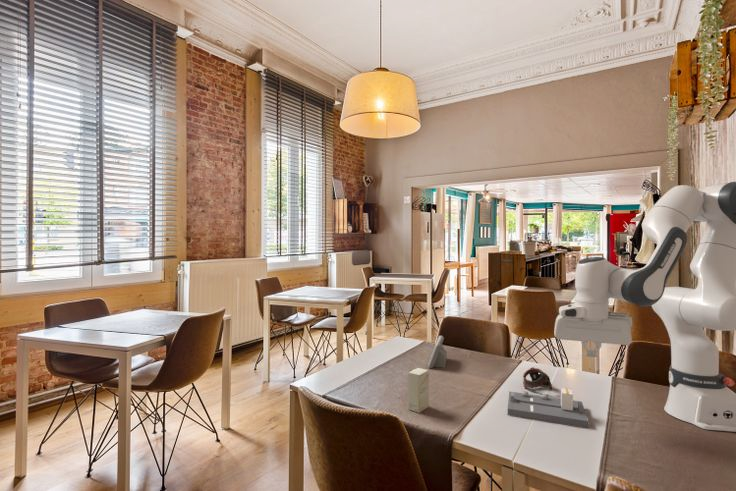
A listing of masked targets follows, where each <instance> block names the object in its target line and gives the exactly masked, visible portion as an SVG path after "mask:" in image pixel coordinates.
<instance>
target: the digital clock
mask: <svg viewBox="0 0 736 491" xmlns="http://www.w3.org/2000/svg"><path fill="white" fill-rule="evenodd" d="M444 340H445V338H444V336H443V335H438V337H437V339H436V342H435V344H434V347H433V349H432V352H431V355H430V357H429V359H428V363H427V367H428V369H433V368H434V367H435V366H438V368H445V366H446V364H447V350H446V349H444V347H443V343H444Z"/></svg>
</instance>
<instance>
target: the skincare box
mask: <svg viewBox="0 0 736 491" xmlns="http://www.w3.org/2000/svg"><path fill="white" fill-rule="evenodd" d="M429 374H430V372H429V370H428V369H425V368H421V367H416V368H414V369H412V370H410V371H408V372H407V379H408V380H407V385H408V386H407V387H408V388H407V392H408V394H407V395H408V396H407V397H408V399H407V400H408V401H407V402H408V405H407V407H408V408H407V409H408V410H410V411H412V412H415V413H418V414H419V413H421V412H423V411H425V410H426V409H428V408H429V406H430V400H429V398H430V392H429V390H430V388H429V387H430V385H429V383H430V382H429V378H430V377H429V376H430V375H429Z"/></svg>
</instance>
